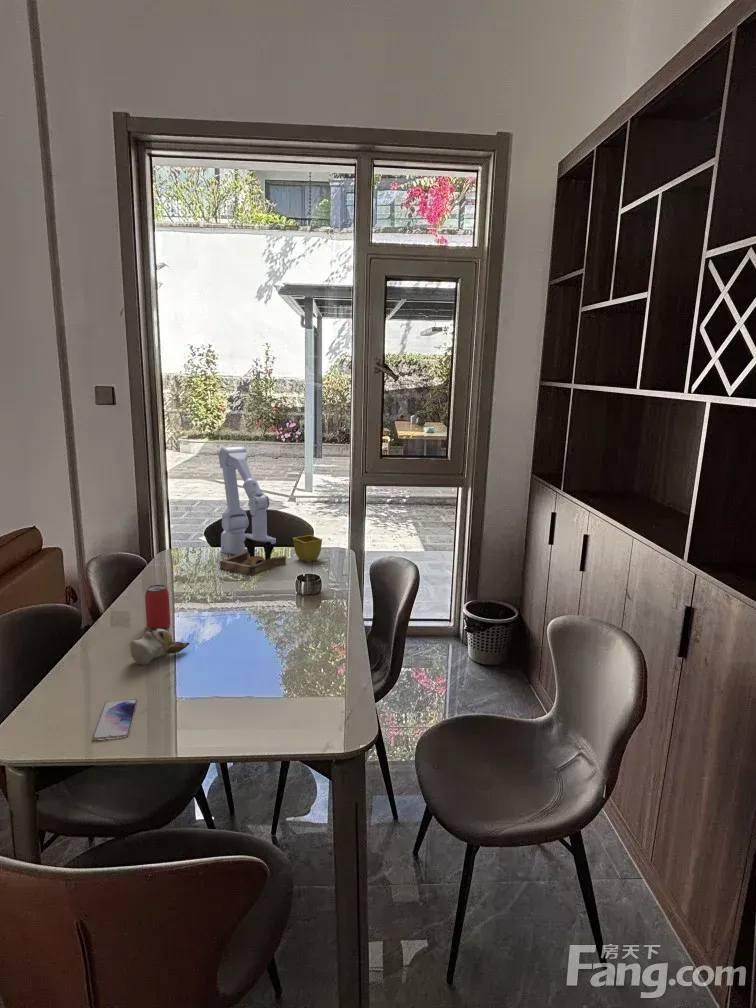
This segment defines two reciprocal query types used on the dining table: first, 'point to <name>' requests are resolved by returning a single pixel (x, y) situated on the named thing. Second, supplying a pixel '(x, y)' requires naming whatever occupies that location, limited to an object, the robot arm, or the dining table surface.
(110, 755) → the dining table surface
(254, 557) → the pastry
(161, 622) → the beer can
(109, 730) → the smartphone
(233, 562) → the holder
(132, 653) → the ceramic sculpture
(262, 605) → the dining table surface
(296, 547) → the flower pot
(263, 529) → the robot arm
